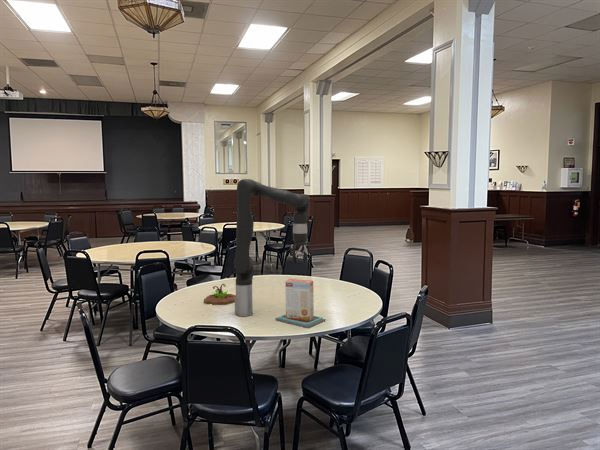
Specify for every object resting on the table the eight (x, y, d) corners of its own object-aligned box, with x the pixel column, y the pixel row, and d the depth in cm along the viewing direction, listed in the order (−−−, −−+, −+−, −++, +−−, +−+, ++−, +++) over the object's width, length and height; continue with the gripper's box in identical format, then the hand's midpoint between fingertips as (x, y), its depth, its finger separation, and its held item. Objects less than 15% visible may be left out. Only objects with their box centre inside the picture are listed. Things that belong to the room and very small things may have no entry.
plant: (230, 306, 260) (230, 288, 259) (200, 304, 264) (199, 286, 263) (241, 297, 280) (241, 280, 279) (212, 296, 284) (212, 279, 283)
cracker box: (314, 318, 231) (313, 280, 229) (309, 322, 226) (309, 282, 224) (290, 315, 237) (289, 278, 235) (285, 318, 231) (285, 280, 229)
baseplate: (275, 320, 232) (275, 316, 232) (293, 313, 244) (293, 310, 244) (308, 328, 219) (308, 324, 219) (325, 321, 230) (325, 317, 230)
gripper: (297, 233, 219) (297, 265, 221) (314, 231, 230) (314, 261, 232) (285, 232, 224) (285, 263, 225) (302, 230, 235) (302, 260, 236)
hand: (300, 262), depth 228 cm, fingers open, 8 cm apart
